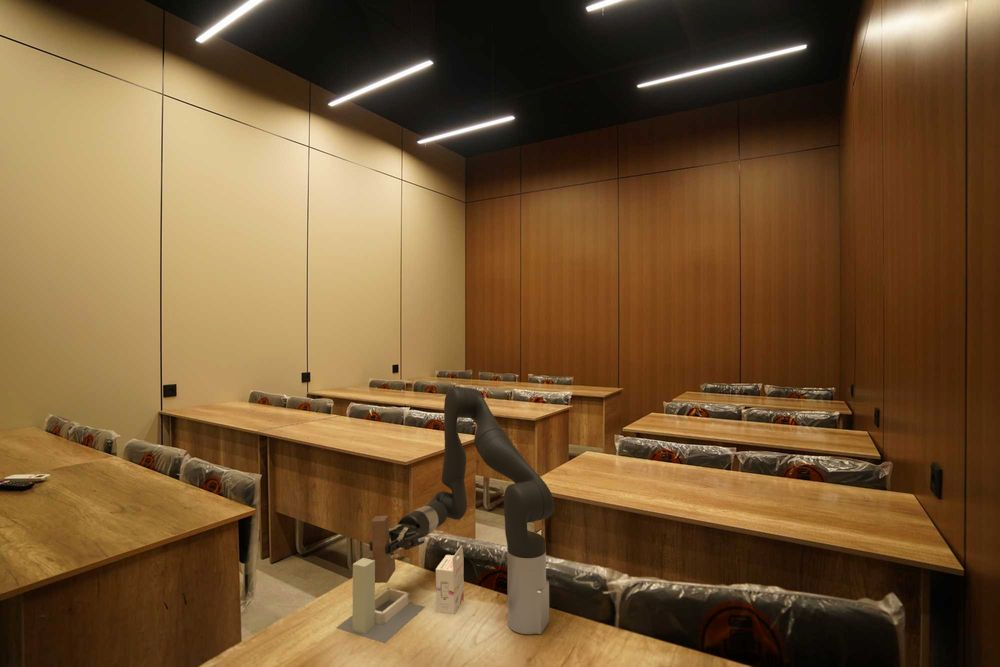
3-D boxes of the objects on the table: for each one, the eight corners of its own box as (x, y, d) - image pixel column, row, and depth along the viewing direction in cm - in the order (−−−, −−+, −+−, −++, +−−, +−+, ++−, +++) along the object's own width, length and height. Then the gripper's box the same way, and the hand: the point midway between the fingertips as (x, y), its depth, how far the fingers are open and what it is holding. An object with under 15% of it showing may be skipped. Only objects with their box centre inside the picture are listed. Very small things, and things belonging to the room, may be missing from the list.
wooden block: (387, 583, 114) (384, 520, 114) (374, 583, 114) (370, 520, 115) (395, 569, 121) (392, 510, 121) (383, 570, 121) (379, 510, 121)
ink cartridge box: (445, 599, 125) (445, 542, 125) (464, 601, 124) (464, 543, 124) (435, 617, 116) (434, 556, 117) (454, 619, 115) (454, 558, 116)
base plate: (425, 611, 119) (425, 596, 119) (384, 648, 104) (384, 631, 104) (380, 599, 125) (380, 585, 125) (335, 633, 110) (335, 616, 110)
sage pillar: (374, 625, 111) (374, 560, 111) (364, 634, 107) (364, 566, 108) (362, 622, 112) (363, 557, 113) (352, 630, 109) (352, 563, 109)
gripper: (397, 506, 134) (355, 528, 118) (441, 513, 128) (402, 537, 112) (397, 533, 134) (355, 559, 118) (441, 542, 128) (402, 570, 112)
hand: (378, 548), depth 115 cm, fingers closed on wooden block, 4 cm apart
